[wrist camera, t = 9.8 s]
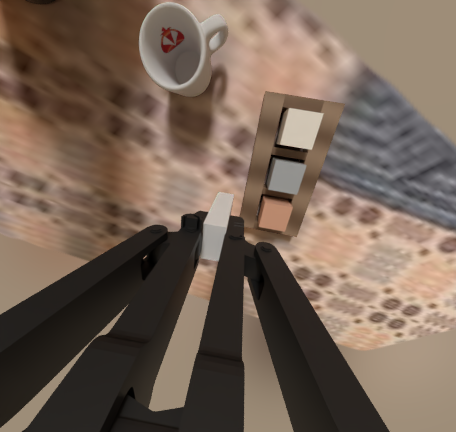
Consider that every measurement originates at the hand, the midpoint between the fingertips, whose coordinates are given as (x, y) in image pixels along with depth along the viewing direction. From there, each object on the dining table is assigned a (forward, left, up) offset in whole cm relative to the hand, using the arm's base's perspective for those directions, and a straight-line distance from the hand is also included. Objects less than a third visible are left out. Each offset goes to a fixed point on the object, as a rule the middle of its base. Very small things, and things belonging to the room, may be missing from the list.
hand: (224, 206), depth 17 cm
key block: (-2, +8, -17) cm, 19 cm away
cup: (-15, -8, -17) cm, 24 cm away
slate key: (-2, +8, -15) cm, 17 cm away
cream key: (-9, +8, -15) cm, 19 cm away
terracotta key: (+4, +8, -15) cm, 18 cm away
